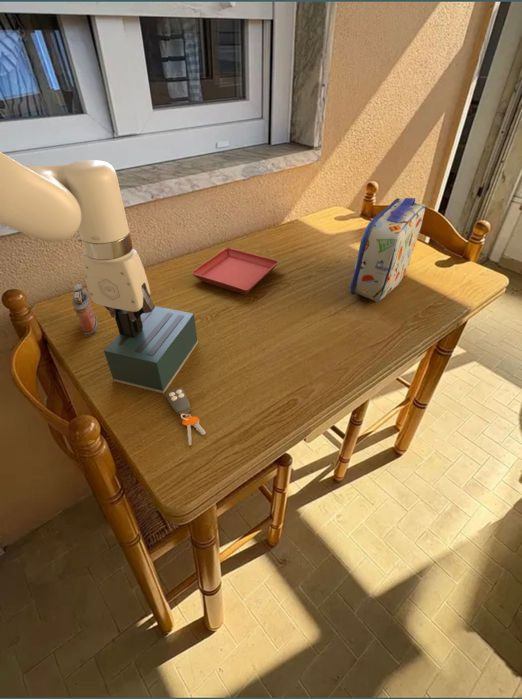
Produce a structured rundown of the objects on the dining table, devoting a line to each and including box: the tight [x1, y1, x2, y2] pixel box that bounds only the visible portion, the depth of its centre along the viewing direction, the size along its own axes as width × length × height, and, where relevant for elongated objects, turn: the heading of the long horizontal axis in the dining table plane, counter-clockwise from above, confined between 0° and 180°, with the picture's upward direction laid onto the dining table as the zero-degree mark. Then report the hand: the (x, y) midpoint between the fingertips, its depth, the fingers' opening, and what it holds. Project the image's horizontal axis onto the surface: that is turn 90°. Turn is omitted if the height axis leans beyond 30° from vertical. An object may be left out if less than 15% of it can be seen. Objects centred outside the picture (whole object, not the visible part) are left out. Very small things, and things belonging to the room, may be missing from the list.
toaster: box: [103, 305, 199, 395], centre depth 78 cm, size 11×16×8 cm
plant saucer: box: [191, 247, 280, 295], centre depth 106 cm, size 18×18×3 cm
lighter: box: [71, 283, 99, 337], centre depth 86 cm, size 8×3×10 cm, turn 17°
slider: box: [118, 310, 131, 336], centre depth 73 cm, size 2×3×5 cm
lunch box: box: [349, 197, 426, 303], centre depth 98 cm, size 28×10×22 cm, turn 148°
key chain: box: [165, 387, 207, 447], centre depth 69 cm, size 13×4×2 cm, turn 30°
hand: (131, 331), depth 75 cm, fingers closed on slider, 2 cm apart
